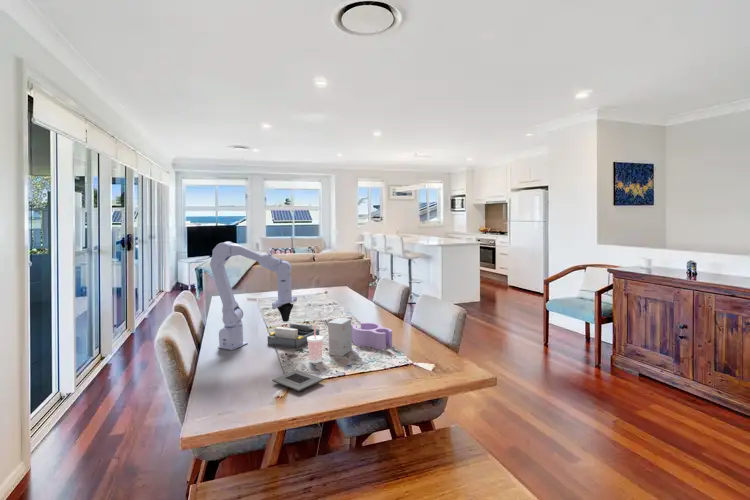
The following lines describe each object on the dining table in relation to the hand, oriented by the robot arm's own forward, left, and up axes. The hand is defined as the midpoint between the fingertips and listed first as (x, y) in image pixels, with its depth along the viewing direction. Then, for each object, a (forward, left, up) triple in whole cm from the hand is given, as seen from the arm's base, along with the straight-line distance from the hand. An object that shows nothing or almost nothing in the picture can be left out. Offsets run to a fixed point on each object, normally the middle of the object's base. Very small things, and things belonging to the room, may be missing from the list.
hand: (285, 321), depth 174 cm
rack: (+5, -1, -10) cm, 11 cm away
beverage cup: (-12, -23, -10) cm, 28 cm away
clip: (+15, -33, -10) cm, 38 cm away
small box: (0, -27, -10) cm, 29 cm away
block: (-1, -1, -10) cm, 10 cm away
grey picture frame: (-32, -29, -11) cm, 44 cm away
